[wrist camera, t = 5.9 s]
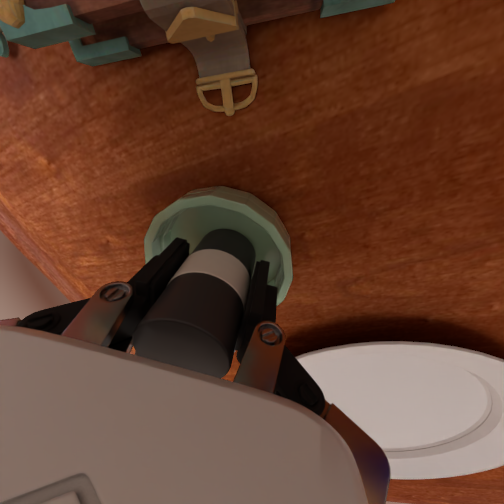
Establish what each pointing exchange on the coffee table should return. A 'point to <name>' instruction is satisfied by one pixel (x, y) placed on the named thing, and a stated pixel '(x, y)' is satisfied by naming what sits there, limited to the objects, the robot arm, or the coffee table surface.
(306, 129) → the coffee table surface
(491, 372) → the plate
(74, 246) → the coffee table surface
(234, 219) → the pale green dish
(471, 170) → the coffee table surface
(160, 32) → the decorative book
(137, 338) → the dark gray banded cylinder
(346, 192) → the coffee table surface
